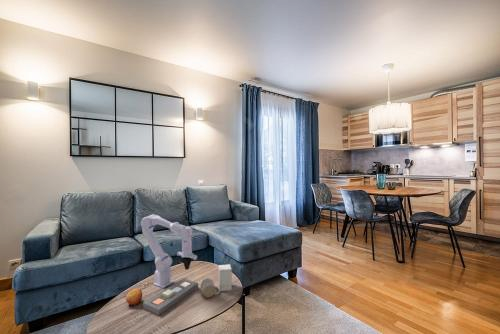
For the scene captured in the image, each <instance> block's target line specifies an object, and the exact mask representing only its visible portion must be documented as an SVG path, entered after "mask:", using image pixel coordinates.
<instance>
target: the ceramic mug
mask: <svg viewBox="0 0 500 334" xmlns="http://www.w3.org/2000/svg"><path fill="white" fill-rule="evenodd" d="M200 290H201V293H202V295H203V297H205V298H211V297H213V296H214V295H219V294H220V293H221V291H220V289H219V287H217V286H216V285H215V283H214V281H213V279H212V278H209V277H207V278H205V279H203V280H202V281H201V283H200Z"/></svg>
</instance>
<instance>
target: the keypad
mask: <svg viewBox="0 0 500 334" xmlns="http://www.w3.org/2000/svg"><path fill="white" fill-rule="evenodd" d="M184 282H188V283H191V284H190V285H188V286H187V287H182V286H180V284H182V283H184ZM176 287H180V288H183V289H182V290H181V291H179V292H178V293H175V292H174V295H173V296H172V297H170V298H169V299H167V298H164V297H162V293H163V292H165V291H166V290H168V289H169V290H172V289H174V288H176ZM198 289H199V283H198V282H196V281H193V280H190V279H186V278H183V277H182V279H180V280H178V281H176V282H175V283H172V284H171V285H169V287H168V286H167V288H164V289H163V290H162V291H160V292H159V293H157V294H155V295H154V296H151V297H150V298H149V299H146V300H145V301H144V302H142V309H143V310H145V311H147V312H149V313H152V314H154V315H156V316H161V315H162V314H163V313H165V312H167V311H168V310H170V309H171V308H172V307H173V306H175V305H176V304H177V303H179V302H180V301H182V300H183V299H185V298H186V297H188V296H189V295H190V294H192V293H193V292H194V291H196V290H198ZM158 298H160V299H163V300H165V301H164V302H162V303H161V304H159V305H158V306H157V305H155V304H153V303H152V302H153V301H155V300H156V299H158Z"/></svg>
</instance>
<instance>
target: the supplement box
mask: <svg viewBox="0 0 500 334" xmlns="http://www.w3.org/2000/svg"><path fill="white" fill-rule="evenodd" d="M232 272H233V271H232V266H231V264H230V263H229V264H228V263H227V264H219V265H218V288H219V289H220V292H228V291H232V287H233V286H232V285H233V284H232V276H233V275H232Z"/></svg>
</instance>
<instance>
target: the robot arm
mask: <svg viewBox="0 0 500 334" xmlns="http://www.w3.org/2000/svg"><path fill="white" fill-rule="evenodd" d="M156 225H159V226H162V227H165V228H168V229H169V230H170V231H171V232H172V233H175V234H178V235H179V236H180V237H181V251H178V252H177V253H176V256H177V257H178V256H180V257H181V259H180V260H181V261H182V263H183V265H184V269H185V270H189V269H190V267H191V266H190V265H191V263H192V260H194V261H195V260H197V259H198V255H196V254H194V253H193V251H192V248H193V247H192V245H193V244H192V234H193V232H194V229H193V228H192V227H191V226H190V225H187V226H186V225H183V224H180V223H179V222H178V221H175V222H171V221H169V220H167V219H165V218H163V217H161V216H160V215H158V214H155V213H151V214H150V215H148V216H145V217H142V219H141V221H140V226H141V231H142V234H143V237H144V238H145V240H146V242H147V244H148V246H149V248H150V250H151V251H152V254H153V256H154V257H155V260H154V264H155V269H156V270H155V271H154V283H153V285H155V286H158V287H160V288H163V289H166V287H168V286H171V285H172V284H174V280H172V279H171V266H172V264H173V258H172V257H171V256H170V255H169V254H168V253H167V252H165V251H164V249H163V248H162V246H161V244H160V242H159V241H158V240H159V239H158V238H157V237H156V235H155V233H154V228H155V226H156Z"/></svg>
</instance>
